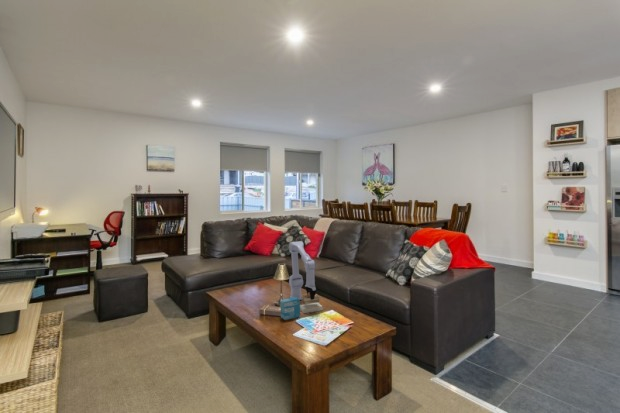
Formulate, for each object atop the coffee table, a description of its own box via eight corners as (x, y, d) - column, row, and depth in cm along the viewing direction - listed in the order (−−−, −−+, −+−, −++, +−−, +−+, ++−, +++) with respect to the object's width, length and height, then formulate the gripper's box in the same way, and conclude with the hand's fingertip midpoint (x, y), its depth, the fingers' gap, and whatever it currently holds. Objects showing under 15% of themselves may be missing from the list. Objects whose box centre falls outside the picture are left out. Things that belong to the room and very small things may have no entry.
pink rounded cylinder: (307, 296, 218) (307, 292, 218) (312, 295, 220) (312, 291, 219) (309, 298, 214) (309, 293, 214) (314, 297, 216) (314, 293, 216)
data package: (283, 320, 200) (282, 302, 199) (280, 318, 204) (280, 299, 203) (300, 316, 205) (300, 298, 205) (297, 314, 209) (297, 296, 209)
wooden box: (302, 301, 218) (302, 295, 218) (316, 299, 222) (316, 294, 221) (305, 304, 213) (305, 298, 213) (319, 302, 216) (319, 296, 216)
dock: (299, 308, 219) (299, 304, 219) (318, 305, 224) (318, 302, 224) (303, 313, 211) (303, 309, 211) (323, 310, 216) (322, 306, 215)
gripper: (301, 276, 222) (302, 295, 223) (308, 281, 208) (308, 302, 209) (311, 275, 224) (311, 294, 225) (318, 280, 211) (318, 300, 211)
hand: (310, 297), depth 217 cm, fingers closed on wooden box, 6 cm apart
